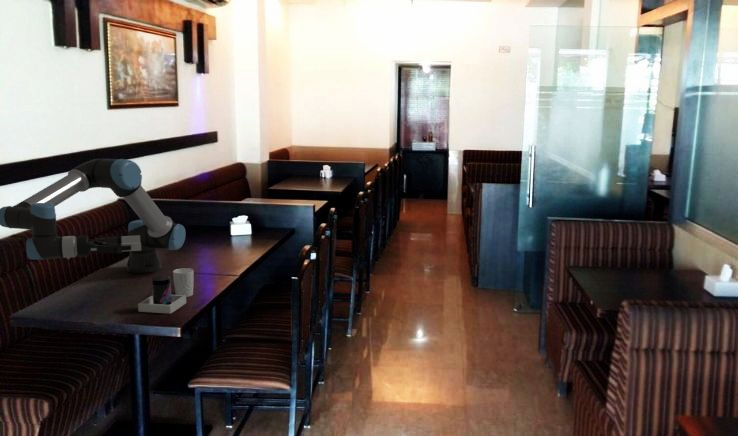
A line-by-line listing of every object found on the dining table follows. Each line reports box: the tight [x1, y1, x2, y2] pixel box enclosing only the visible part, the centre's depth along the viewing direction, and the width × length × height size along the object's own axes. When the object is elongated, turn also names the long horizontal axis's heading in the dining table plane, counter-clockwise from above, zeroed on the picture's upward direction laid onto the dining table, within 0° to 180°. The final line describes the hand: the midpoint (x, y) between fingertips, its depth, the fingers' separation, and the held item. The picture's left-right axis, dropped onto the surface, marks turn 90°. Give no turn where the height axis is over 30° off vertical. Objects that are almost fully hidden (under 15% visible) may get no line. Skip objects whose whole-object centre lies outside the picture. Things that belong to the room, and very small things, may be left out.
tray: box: [137, 294, 187, 314], centre depth 233 cm, size 13×13×3 cm
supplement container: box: [151, 275, 172, 305], centre depth 232 cm, size 7×7×10 cm
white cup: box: [172, 267, 195, 298], centre depth 247 cm, size 8×8×10 cm
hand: (140, 242), depth 227 cm, fingers open, 13 cm apart
